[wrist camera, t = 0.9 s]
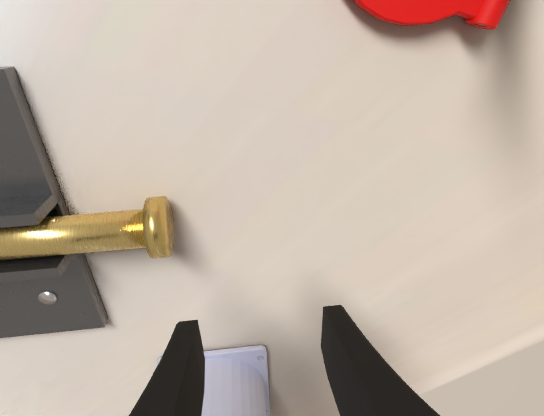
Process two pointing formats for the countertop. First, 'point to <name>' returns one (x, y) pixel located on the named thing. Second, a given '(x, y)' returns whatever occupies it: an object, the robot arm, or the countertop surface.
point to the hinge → (31, 211)
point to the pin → (94, 233)
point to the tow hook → (436, 11)
